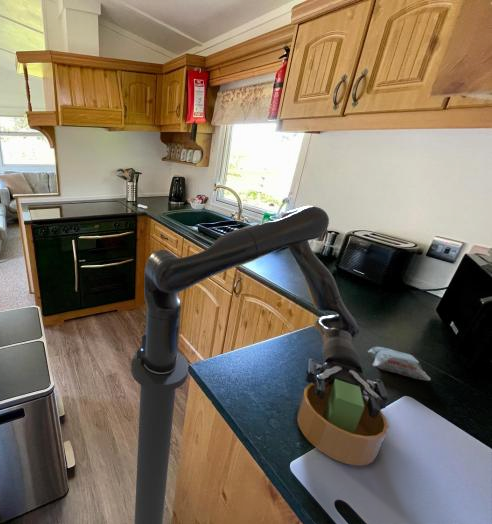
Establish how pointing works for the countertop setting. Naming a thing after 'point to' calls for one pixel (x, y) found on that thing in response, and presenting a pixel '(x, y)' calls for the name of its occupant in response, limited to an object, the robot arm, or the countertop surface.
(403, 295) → the countertop surface
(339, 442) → the orange round bowl
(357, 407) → the green block
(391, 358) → the packaged food
